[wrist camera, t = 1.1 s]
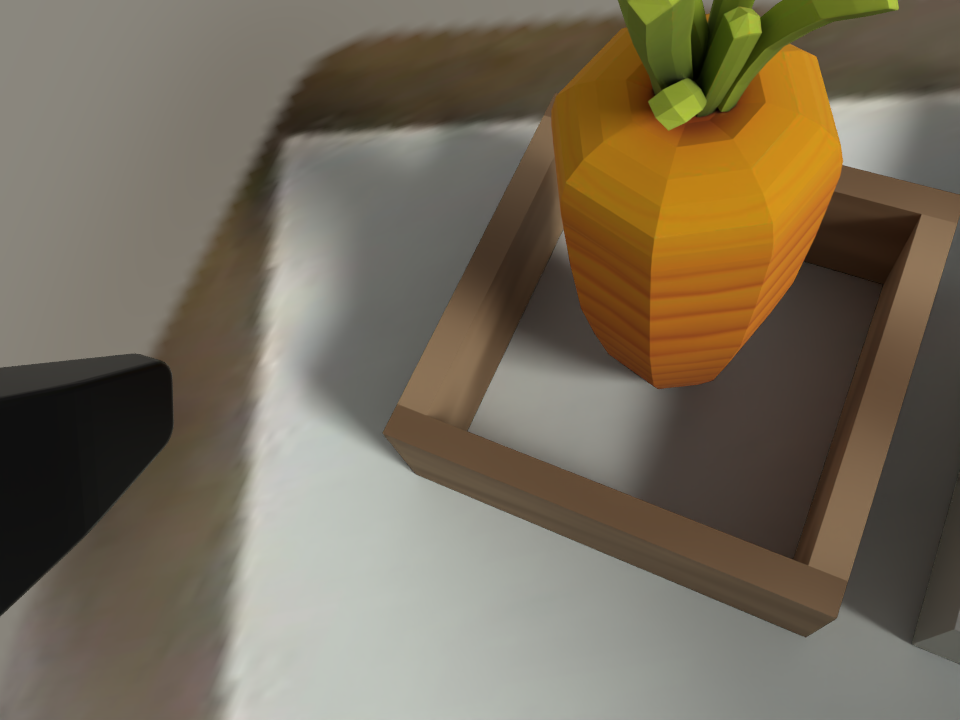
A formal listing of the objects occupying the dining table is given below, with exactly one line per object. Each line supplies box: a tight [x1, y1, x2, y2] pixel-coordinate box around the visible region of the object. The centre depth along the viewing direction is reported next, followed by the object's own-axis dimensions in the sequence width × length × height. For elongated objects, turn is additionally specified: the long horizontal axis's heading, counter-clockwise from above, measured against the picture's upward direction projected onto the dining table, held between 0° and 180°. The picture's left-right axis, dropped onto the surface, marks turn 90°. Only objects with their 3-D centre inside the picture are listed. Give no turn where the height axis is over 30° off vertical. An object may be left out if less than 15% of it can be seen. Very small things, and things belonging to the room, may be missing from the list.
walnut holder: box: [383, 93, 960, 637], centre depth 22 cm, size 11×11×4 cm
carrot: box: [551, 0, 899, 389], centre depth 17 cm, size 5×5×15 cm
